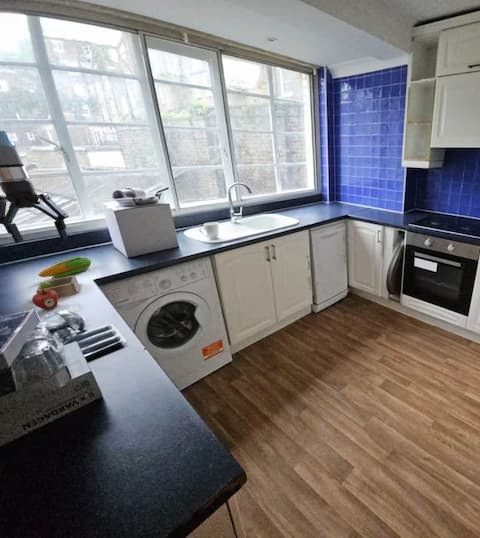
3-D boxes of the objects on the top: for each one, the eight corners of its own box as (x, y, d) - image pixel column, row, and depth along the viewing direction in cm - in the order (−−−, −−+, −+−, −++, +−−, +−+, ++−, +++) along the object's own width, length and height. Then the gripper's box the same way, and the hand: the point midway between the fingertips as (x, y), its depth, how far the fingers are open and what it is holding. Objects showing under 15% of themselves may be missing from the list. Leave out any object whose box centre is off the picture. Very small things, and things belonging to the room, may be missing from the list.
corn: (90, 254, 148) (37, 268, 132) (97, 268, 151) (45, 283, 134) (84, 253, 151) (31, 266, 135) (90, 266, 154) (39, 281, 138)
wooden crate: (41, 301, 119) (35, 291, 117) (45, 292, 127) (40, 282, 125) (77, 293, 125) (73, 283, 123) (79, 284, 133) (74, 275, 131)
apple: (60, 309, 113) (48, 286, 109) (35, 315, 109) (22, 291, 105) (64, 301, 119) (53, 279, 115) (41, 306, 115) (29, 283, 111)
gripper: (65, 177, 106) (88, 233, 115) (-23, 181, 100) (8, 240, 109) (51, 179, 100) (76, 239, 108) (-44, 183, 94) (-9, 246, 102)
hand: (42, 239), depth 108 cm, fingers open, 13 cm apart
